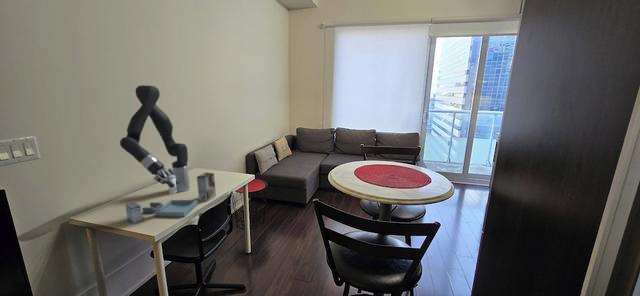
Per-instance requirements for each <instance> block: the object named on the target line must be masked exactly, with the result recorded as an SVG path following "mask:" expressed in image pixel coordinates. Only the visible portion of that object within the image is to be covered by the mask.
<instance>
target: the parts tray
mask: <svg viewBox="0 0 640 296" xmlns="http://www.w3.org/2000/svg"><path fill="white" fill-rule="evenodd" d="M197 206H198V200H197V199H196V200H193V199H170V200H169V201H168V202H166V203H165V204H163V206H162V207H161V208H160V209H158V210H157V211H155V213H154V214H155V217H162V218H165V217H166V218H167V217H168V218H185V217H186V216H187V215H189V214H190V213H191V212H192V211H193V210H194V209H195V208H196V207H197Z"/></svg>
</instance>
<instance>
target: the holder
mask: <svg viewBox="0 0 640 296" xmlns="http://www.w3.org/2000/svg"><path fill="white" fill-rule="evenodd" d="M149 206H150V207H149ZM149 206H143V207H141V210H142V214H155V211H157V210H158V209H160V208H161V207H162V206H164V203H162V202H159V201H157V202H154V201H152V202H150V203H149Z"/></svg>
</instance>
